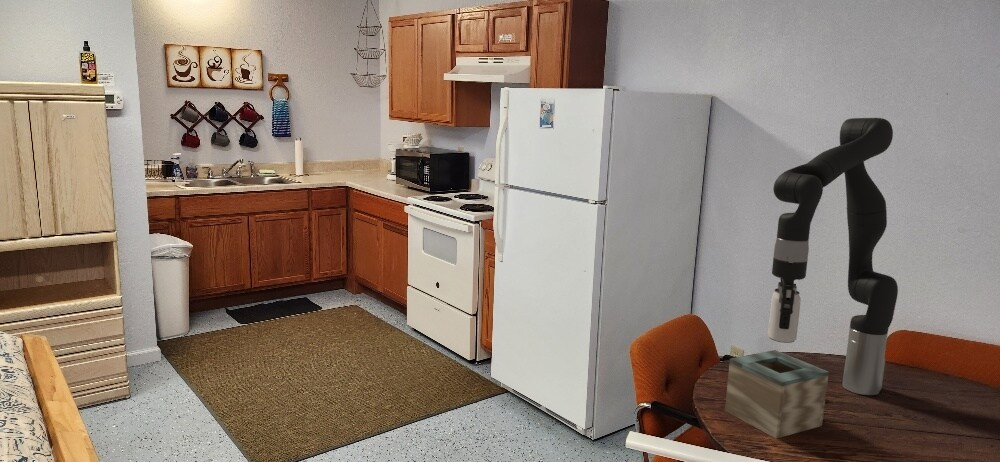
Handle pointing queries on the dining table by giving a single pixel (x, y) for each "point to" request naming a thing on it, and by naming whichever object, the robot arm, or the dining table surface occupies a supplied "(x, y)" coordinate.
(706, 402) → the dining table surface
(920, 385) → the dining table surface
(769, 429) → the drop box
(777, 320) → the can
